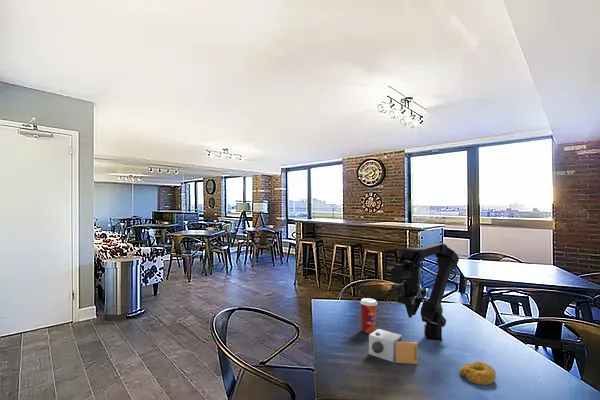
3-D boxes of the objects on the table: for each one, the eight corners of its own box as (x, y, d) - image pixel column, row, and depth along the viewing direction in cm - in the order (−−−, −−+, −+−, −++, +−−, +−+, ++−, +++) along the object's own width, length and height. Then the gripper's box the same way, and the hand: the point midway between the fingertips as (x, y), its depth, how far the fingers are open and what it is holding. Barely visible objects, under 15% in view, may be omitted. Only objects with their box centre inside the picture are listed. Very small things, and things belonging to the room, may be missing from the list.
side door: (416, 362, 124) (416, 341, 124) (417, 364, 123) (417, 343, 123) (393, 361, 124) (393, 340, 124) (394, 363, 123) (394, 342, 123)
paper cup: (372, 335, 149) (372, 303, 149) (356, 331, 153) (357, 300, 153) (379, 330, 155) (380, 299, 155) (364, 326, 160) (365, 296, 160)
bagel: (463, 367, 121) (463, 354, 121) (498, 378, 114) (498, 364, 114) (456, 378, 114) (456, 364, 114) (492, 391, 107) (493, 376, 107)
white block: (378, 347, 137) (378, 327, 137) (401, 354, 130) (402, 334, 130) (367, 355, 129) (367, 334, 129) (391, 363, 123) (392, 341, 123)
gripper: (402, 272, 151) (401, 306, 151) (384, 279, 137) (383, 317, 137) (427, 276, 144) (426, 312, 144) (411, 284, 130) (410, 324, 130)
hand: (411, 316), depth 139 cm, fingers open, 4 cm apart
